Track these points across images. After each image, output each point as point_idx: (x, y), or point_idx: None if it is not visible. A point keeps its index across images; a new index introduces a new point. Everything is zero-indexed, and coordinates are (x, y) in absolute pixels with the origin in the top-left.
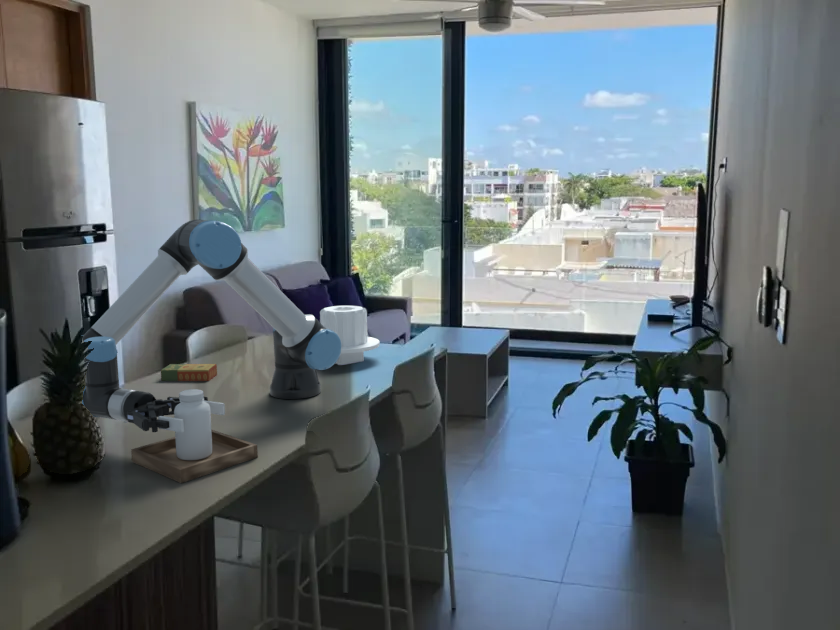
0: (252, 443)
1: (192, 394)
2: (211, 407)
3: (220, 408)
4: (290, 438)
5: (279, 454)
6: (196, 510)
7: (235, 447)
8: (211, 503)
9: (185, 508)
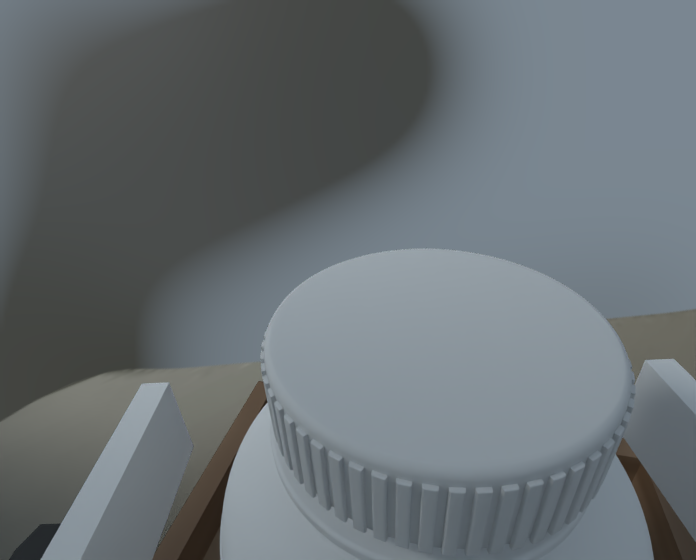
0: (248, 401)
1: (489, 267)
2: (132, 528)
3: (172, 428)
4: (29, 439)
5: (221, 379)
6: (664, 323)
7: (218, 527)
8: (609, 322)
9: (691, 346)
